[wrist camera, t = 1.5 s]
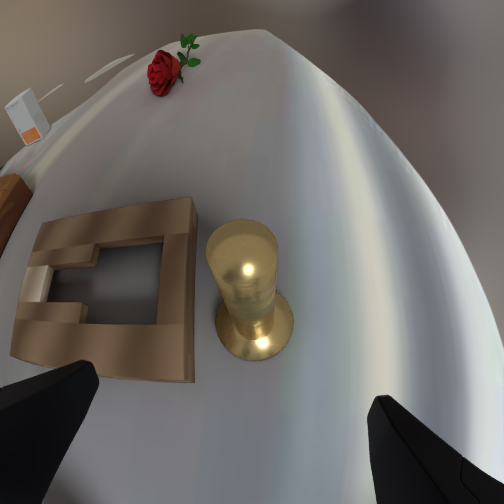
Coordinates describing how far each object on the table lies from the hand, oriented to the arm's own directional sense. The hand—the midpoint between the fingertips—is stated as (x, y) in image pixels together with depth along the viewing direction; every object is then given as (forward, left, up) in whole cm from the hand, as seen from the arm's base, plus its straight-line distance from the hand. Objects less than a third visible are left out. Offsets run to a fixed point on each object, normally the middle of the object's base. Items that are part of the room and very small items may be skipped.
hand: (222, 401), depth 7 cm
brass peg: (+4, +4, -12) cm, 13 cm away
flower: (+30, +52, -12) cm, 61 cm away
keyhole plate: (-4, +15, -12) cm, 20 cm away
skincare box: (-3, +63, -12) cm, 64 cm away
